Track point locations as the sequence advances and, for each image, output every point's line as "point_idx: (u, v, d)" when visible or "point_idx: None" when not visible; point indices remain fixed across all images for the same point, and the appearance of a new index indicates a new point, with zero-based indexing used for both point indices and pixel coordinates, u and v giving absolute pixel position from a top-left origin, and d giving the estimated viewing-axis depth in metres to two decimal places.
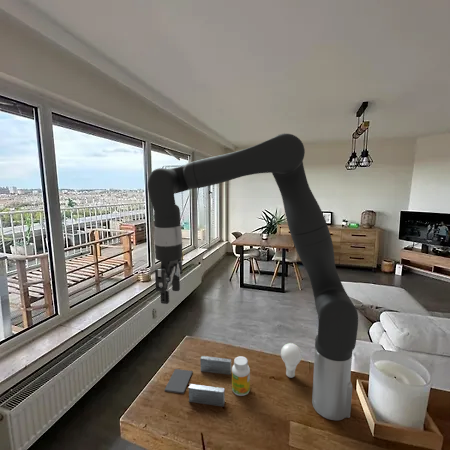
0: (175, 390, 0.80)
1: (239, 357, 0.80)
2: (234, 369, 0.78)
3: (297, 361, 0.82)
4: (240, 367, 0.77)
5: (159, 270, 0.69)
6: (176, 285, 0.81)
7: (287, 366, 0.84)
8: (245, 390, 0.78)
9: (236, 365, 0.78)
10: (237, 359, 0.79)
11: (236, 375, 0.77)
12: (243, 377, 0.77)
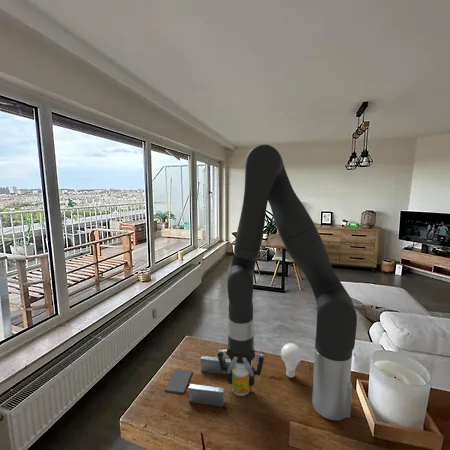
0: (175, 390, 0.80)
1: None
2: (234, 369, 0.78)
3: (297, 361, 0.82)
4: (240, 367, 0.77)
5: (263, 356, 0.77)
6: None
7: (287, 366, 0.84)
8: (245, 390, 0.78)
9: (236, 365, 0.78)
10: None
11: (236, 375, 0.77)
12: (243, 377, 0.77)
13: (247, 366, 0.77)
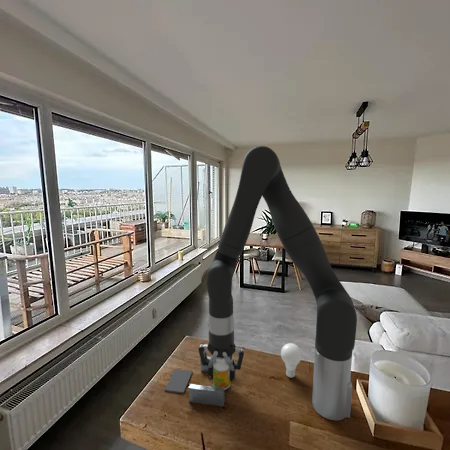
0: (175, 390, 0.80)
1: None
2: (215, 364, 0.79)
3: (297, 361, 0.82)
4: (221, 361, 0.78)
5: None
6: None
7: (287, 366, 0.84)
8: (225, 384, 0.79)
9: (217, 360, 0.79)
10: None
11: (216, 370, 0.78)
12: (223, 371, 0.78)
13: (227, 361, 0.78)
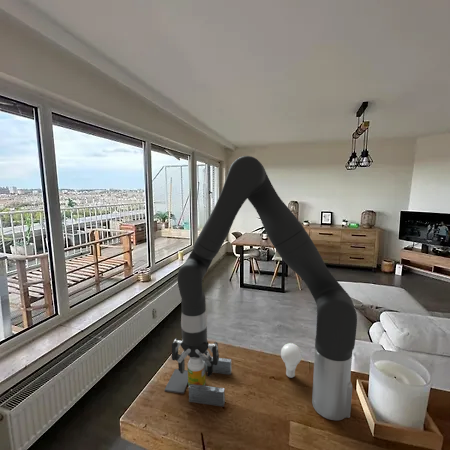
0: (175, 390, 0.80)
1: None
2: (189, 364, 0.81)
3: (297, 361, 0.82)
4: (194, 362, 0.80)
5: (216, 345, 0.80)
6: (183, 365, 0.83)
7: (287, 366, 0.84)
8: (199, 384, 0.80)
9: (191, 360, 0.80)
10: None
11: (190, 370, 0.80)
12: (197, 371, 0.79)
13: (202, 357, 0.79)
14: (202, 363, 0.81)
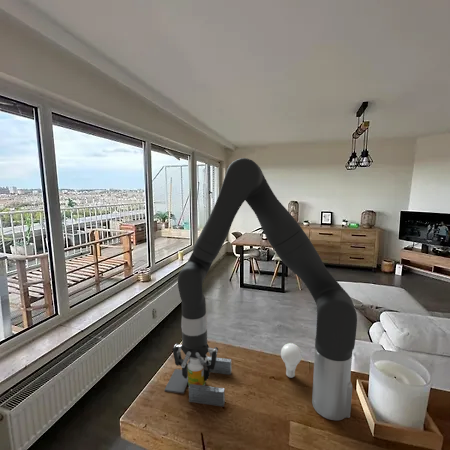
0: (175, 390, 0.80)
1: None
2: (189, 364, 0.81)
3: (297, 361, 0.82)
4: (194, 362, 0.80)
5: (216, 350, 0.80)
6: (187, 370, 0.83)
7: (287, 366, 0.84)
8: (199, 384, 0.80)
9: (190, 360, 0.80)
10: None
11: (190, 370, 0.80)
12: (197, 371, 0.79)
13: (201, 361, 0.80)
14: None
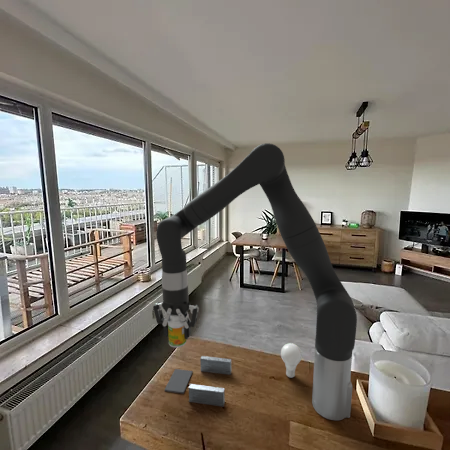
0: (175, 390, 0.80)
1: None
2: (169, 321, 0.80)
3: (297, 361, 0.82)
4: (175, 319, 0.78)
5: (197, 308, 0.79)
6: None
7: (287, 366, 0.84)
8: (180, 342, 0.79)
9: (171, 317, 0.79)
10: None
11: (170, 327, 0.79)
12: (177, 328, 0.78)
13: (181, 318, 0.78)
14: None
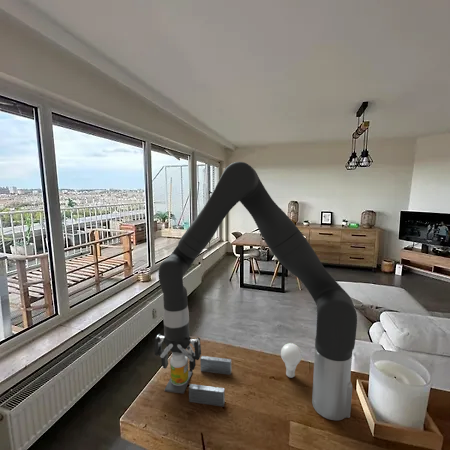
0: (175, 390, 0.80)
1: None
2: (172, 360, 0.82)
3: (297, 361, 0.82)
4: (177, 358, 0.81)
5: (198, 340, 0.80)
6: (166, 361, 0.84)
7: (287, 366, 0.84)
8: (182, 380, 0.81)
9: (173, 356, 0.81)
10: None
11: (172, 366, 0.81)
12: (179, 367, 0.80)
13: (184, 352, 0.80)
14: (184, 360, 0.82)
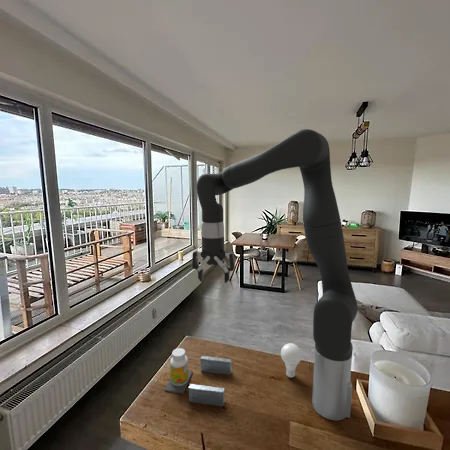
0: (175, 390, 0.80)
1: (178, 349, 0.84)
2: (172, 360, 0.82)
3: (297, 361, 0.82)
4: (177, 358, 0.81)
5: (232, 253, 0.88)
6: (202, 275, 0.92)
7: (287, 366, 0.84)
8: (182, 380, 0.81)
9: (173, 356, 0.81)
10: (175, 351, 0.83)
11: (172, 366, 0.81)
12: (179, 368, 0.80)
13: (220, 263, 0.88)
14: (184, 360, 0.82)
